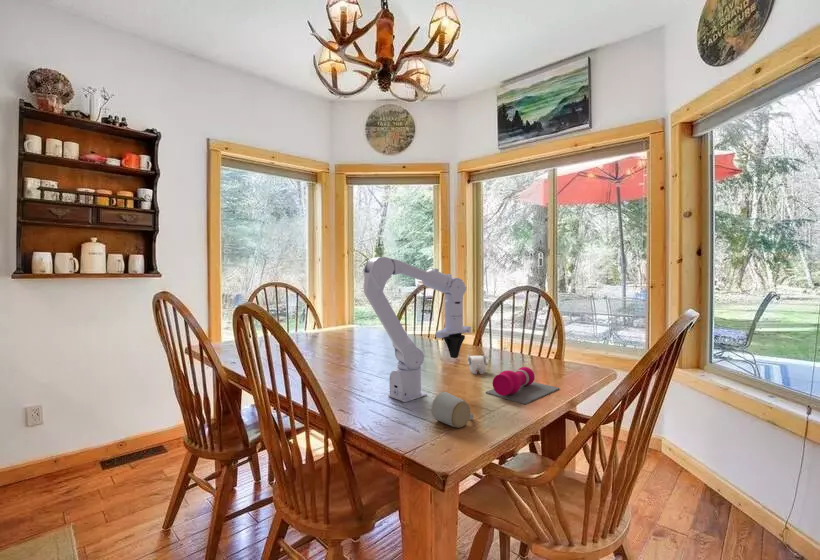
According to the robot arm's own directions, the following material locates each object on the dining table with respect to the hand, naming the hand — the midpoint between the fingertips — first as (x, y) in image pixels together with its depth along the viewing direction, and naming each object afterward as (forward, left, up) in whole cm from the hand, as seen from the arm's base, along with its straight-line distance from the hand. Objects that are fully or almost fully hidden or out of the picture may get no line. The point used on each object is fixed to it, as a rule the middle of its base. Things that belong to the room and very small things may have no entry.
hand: (454, 357), depth 131 cm
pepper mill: (+3, -16, -6) cm, 17 cm away
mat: (+14, -16, -10) cm, 24 cm away
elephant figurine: (+22, +8, -11) cm, 26 cm away
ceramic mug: (-20, -17, -11) cm, 29 cm away
